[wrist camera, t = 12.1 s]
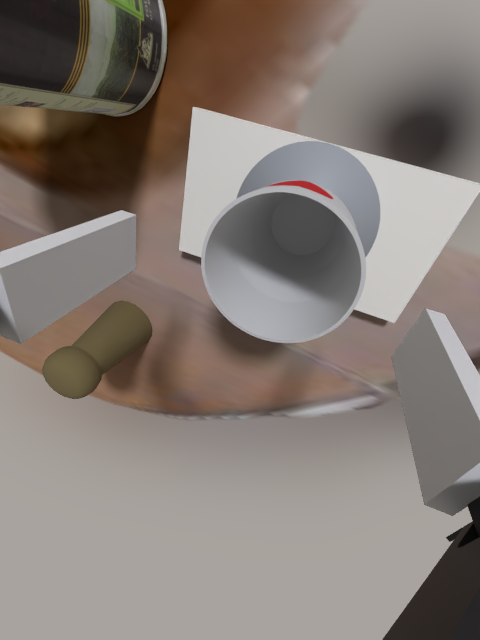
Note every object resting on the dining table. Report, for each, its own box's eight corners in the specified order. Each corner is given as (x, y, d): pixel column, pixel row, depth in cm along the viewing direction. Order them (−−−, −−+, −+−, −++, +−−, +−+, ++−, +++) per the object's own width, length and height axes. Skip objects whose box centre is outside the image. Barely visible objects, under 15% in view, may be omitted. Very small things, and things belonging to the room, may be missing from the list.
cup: (383, 220, 21) (407, 276, 13) (302, 292, 25) (282, 366, 17) (300, 137, 20) (268, 141, 12) (231, 228, 24) (174, 276, 16)
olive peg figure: (145, 351, 38) (83, 418, 29) (104, 326, 38) (29, 386, 29) (158, 318, 34) (91, 383, 25) (113, 291, 34) (30, 347, 25)
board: (184, 246, 28) (177, 250, 27) (199, 108, 22) (191, 106, 21) (392, 315, 26) (395, 324, 24) (477, 182, 19) (485, 185, 18)
